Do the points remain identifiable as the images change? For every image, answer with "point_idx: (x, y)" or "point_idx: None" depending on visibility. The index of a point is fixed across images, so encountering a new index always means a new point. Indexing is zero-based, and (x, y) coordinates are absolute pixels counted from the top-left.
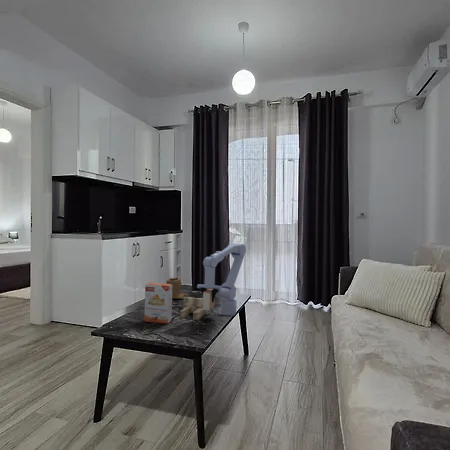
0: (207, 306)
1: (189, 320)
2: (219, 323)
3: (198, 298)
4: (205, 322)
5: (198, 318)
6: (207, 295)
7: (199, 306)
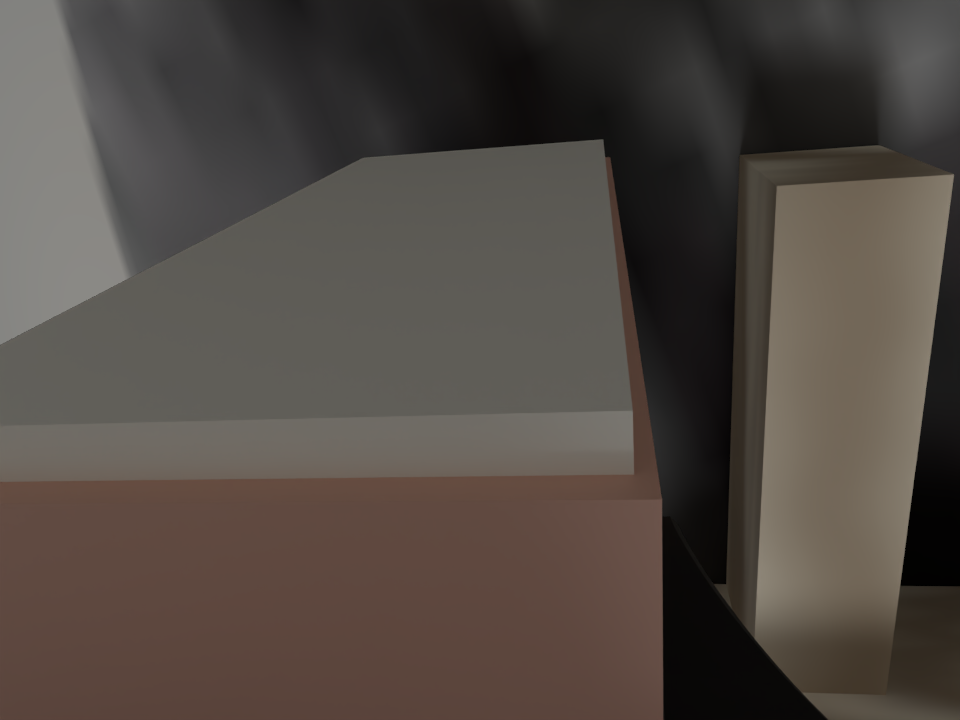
0: (402, 175)
1: (955, 24)
2: (189, 124)
3: None
4: (499, 52)
5: (744, 188)
6: (203, 324)
7: (917, 709)
